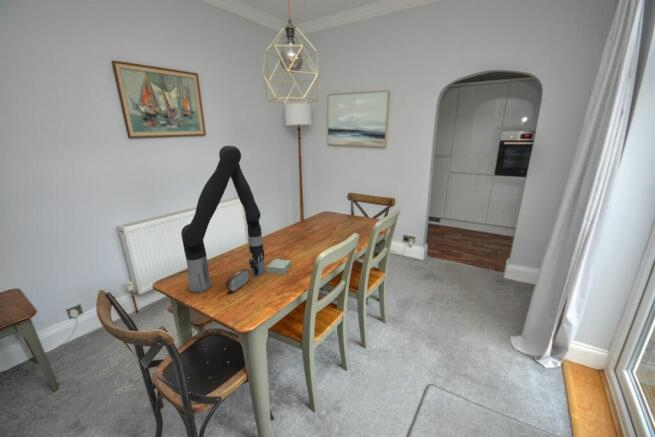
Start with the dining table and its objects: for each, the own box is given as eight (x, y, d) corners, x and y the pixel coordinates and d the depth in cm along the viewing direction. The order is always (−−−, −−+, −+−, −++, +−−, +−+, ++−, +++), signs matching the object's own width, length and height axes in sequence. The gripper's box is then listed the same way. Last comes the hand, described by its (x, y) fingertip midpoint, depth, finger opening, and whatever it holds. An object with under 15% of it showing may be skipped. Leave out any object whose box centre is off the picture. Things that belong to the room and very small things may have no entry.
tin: (247, 279, 151) (245, 265, 148) (251, 280, 149) (250, 266, 147) (225, 293, 138) (223, 278, 135) (230, 295, 137) (228, 279, 134)
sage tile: (284, 275, 156) (283, 268, 154) (267, 273, 158) (267, 266, 157) (290, 266, 165) (290, 260, 164) (275, 265, 167) (274, 259, 166)
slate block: (260, 275, 155) (259, 263, 153) (252, 274, 156) (251, 263, 154) (264, 271, 160) (263, 259, 158) (256, 270, 161) (255, 259, 159)
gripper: (256, 248, 145) (259, 278, 150) (267, 238, 159) (270, 266, 163) (242, 247, 147) (246, 276, 152) (255, 237, 160) (258, 265, 165)
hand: (258, 271), depth 158 cm, fingers closed on slate block, 5 cm apart
